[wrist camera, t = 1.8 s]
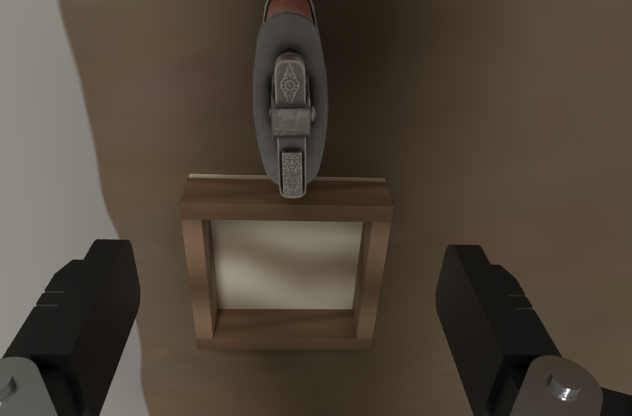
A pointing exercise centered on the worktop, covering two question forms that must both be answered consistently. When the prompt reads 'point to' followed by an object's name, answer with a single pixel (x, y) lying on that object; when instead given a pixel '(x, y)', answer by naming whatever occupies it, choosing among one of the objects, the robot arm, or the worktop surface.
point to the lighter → (290, 95)
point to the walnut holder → (285, 261)
